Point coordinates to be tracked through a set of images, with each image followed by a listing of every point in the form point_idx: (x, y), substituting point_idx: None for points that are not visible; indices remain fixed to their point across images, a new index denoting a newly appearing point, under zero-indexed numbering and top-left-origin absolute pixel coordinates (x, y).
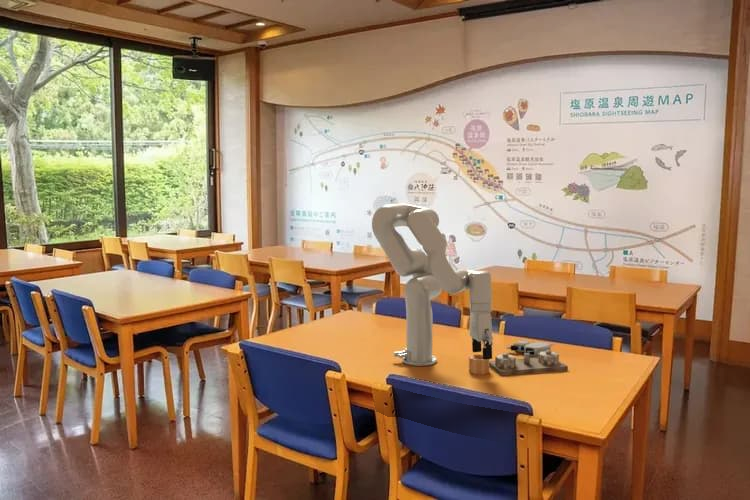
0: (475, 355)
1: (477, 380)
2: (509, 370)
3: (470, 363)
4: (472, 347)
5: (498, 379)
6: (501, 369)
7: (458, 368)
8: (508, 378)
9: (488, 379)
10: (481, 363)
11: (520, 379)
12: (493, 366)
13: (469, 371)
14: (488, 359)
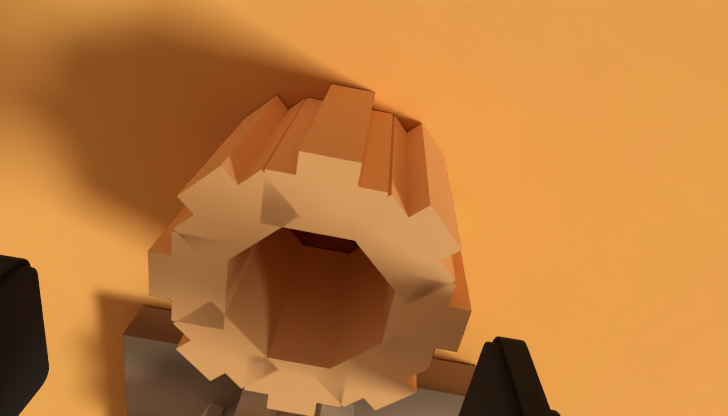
0: (422, 308)
1: (27, 5)
2: (131, 404)
3: (311, 125)
4: (537, 397)
5: (36, 231)
6: (175, 367)
7: (554, 34)
8: (54, 317)
9: (48, 144)
10: (167, 228)
11: None
12: None
13: (354, 90)
14: (191, 357)
